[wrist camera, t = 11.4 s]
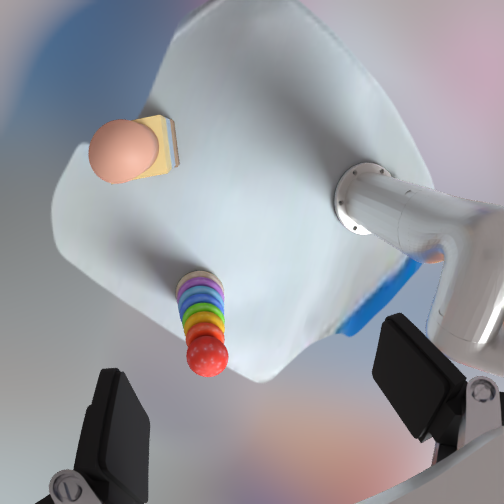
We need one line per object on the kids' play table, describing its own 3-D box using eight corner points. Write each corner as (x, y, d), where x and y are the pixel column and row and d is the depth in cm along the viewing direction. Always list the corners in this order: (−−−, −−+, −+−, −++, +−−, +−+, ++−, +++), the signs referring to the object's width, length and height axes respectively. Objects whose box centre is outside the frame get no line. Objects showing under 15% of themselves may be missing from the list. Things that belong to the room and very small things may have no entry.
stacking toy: (176, 310, 49) (172, 391, 32) (176, 267, 46) (168, 341, 29) (221, 311, 50) (236, 390, 33) (225, 269, 48) (243, 342, 31)
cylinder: (156, 118, 24) (145, 113, 19) (162, 169, 26) (153, 177, 21) (106, 129, 24) (85, 127, 18) (113, 178, 26) (93, 189, 20)
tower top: (165, 118, 29) (160, 114, 24) (171, 168, 31) (167, 173, 26) (116, 128, 28) (103, 127, 23) (123, 177, 30) (111, 184, 26)
